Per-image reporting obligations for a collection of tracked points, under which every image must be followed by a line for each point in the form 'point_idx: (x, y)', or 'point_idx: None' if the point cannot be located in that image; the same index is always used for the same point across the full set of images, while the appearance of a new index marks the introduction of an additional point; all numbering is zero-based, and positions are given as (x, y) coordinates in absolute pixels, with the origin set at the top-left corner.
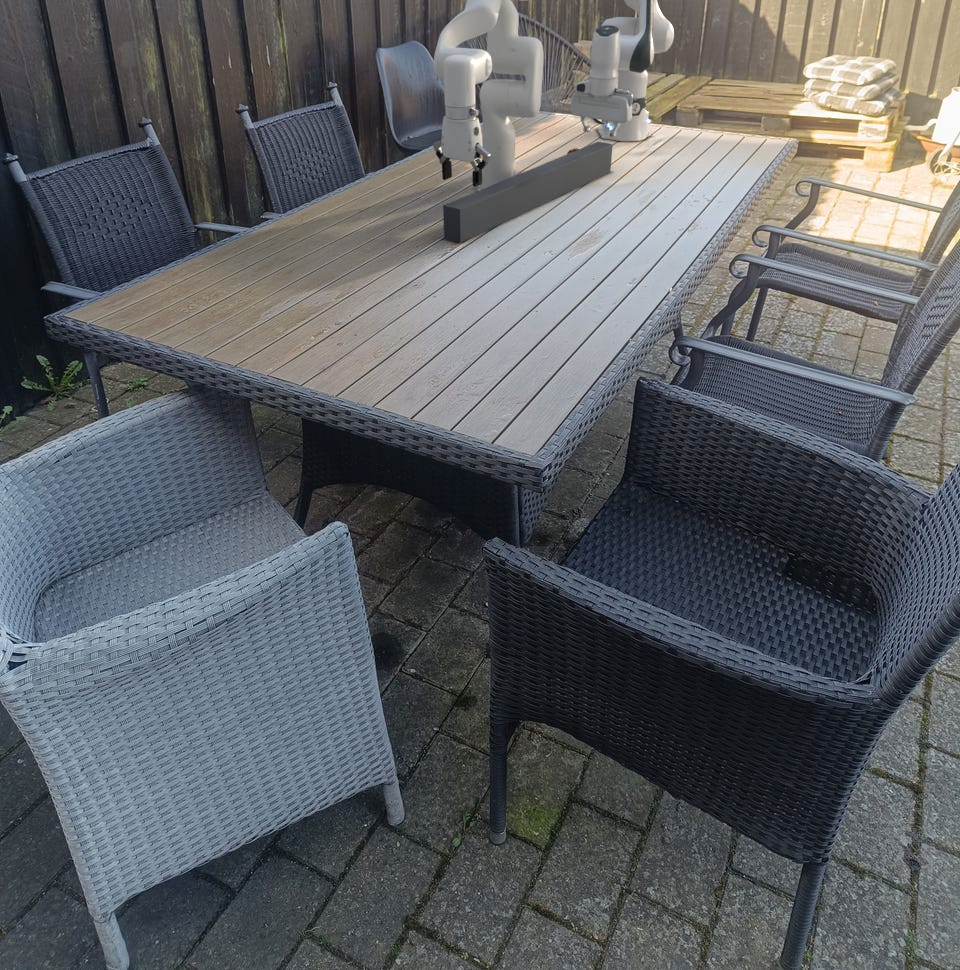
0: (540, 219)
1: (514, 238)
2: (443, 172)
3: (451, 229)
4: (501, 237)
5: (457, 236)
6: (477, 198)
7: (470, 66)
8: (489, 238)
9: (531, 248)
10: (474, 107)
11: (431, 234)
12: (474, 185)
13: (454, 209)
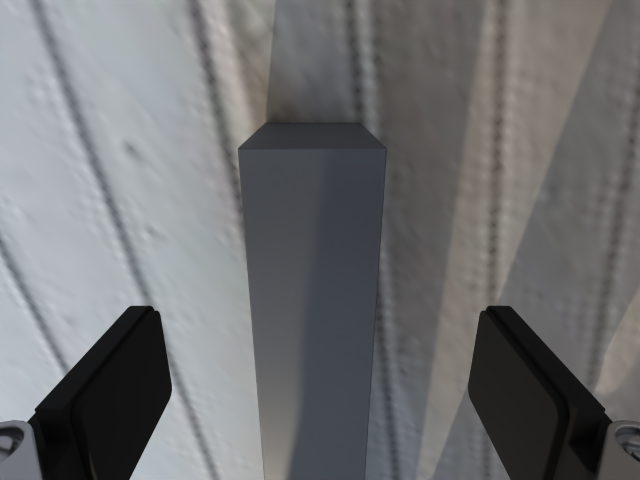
0: (202, 464)
1: (134, 291)
2: (528, 344)
3: (316, 129)
4: (178, 273)
5: (279, 125)
6: (291, 364)
7: None
8: (206, 238)
9: (2, 243)
10: None
11: (440, 134)
12: (127, 310)
13: (287, 146)
